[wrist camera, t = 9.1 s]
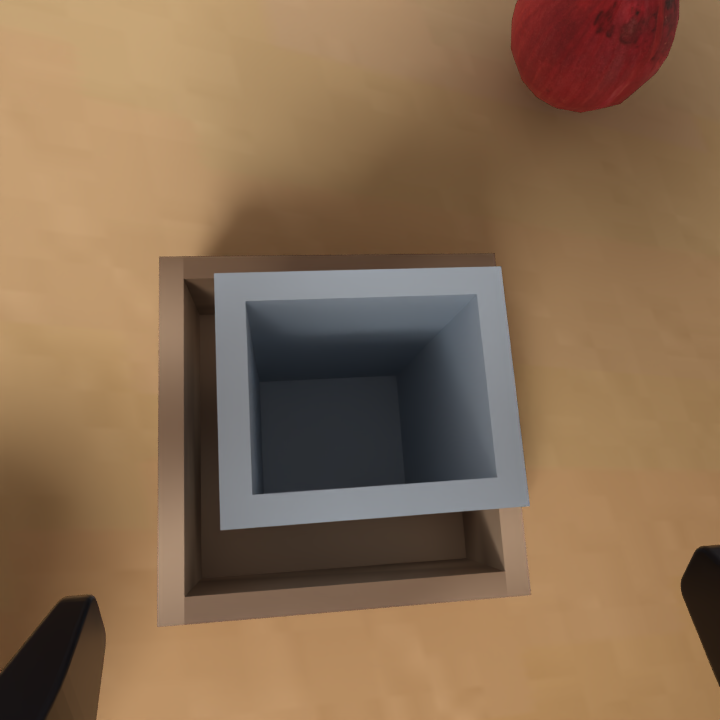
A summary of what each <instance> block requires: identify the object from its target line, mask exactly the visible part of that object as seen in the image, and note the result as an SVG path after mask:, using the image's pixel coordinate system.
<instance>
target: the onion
mask: <svg viewBox="0 0 720 720" xmlns="http://www.w3.org/2000/svg"><path fill="white" fill-rule="evenodd" d="M678 20H679V0H518V1H517V3H516V6H515V10H514V14H513V18H512V29H511V50H512V53H513V57H514V60H515V62H516V65H517V68H518V71H519V73H520V76H521V79H522V81H523V82H524V83H525V84H526V85H527V87H528V88H529V89H530V90H531V91H532V92H533V93H534V94H535V96H536V97H538V98H539V99H541V100H543V101H544V102H546V103H548V104H549V105H551V106H553V107H555V108H559V109H564V110H570V111H575V112H580V113H581V112H586V111H591V110H596V109H601V108H606V107H610V106H613V105H617V104H621V103H622V102H623V101H624V100H625V99H627V98H628V97H629V96H630V95H631V94H633V93H634V92H635V91H636V90H637V89H639V88H640V87H641V86H642V85H643V84H644V83H645V82H647V81H648V80H649V79H650V78H651V77H652V76H653V75H655V74H656V73H657V71H658V70H659V68H660V67H661V65H662V64H663V62H664V61H665V59H666V58H667V56H668V54H669V51H670V48H671V46H672V43H673V40H674V37H675V32H676V28H677V24H678Z"/></svg>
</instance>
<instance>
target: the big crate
mask: <svg viewBox="0 0 720 720" xmlns="http://www.w3.org/2000/svg"><path fill="white" fill-rule="evenodd" d="M456 267H496V262H495V253H493V254H390V255H286V256H183V257H159V409H158V592H157V627H164V626H175V625H187V624H199V623H210V622H222V621H234V620H246V619H257V618H269V617H281V616H292V615H304V614H316V613H327V612H339V611H351V610H363V609H374V608H386V607H398V606H409V605H421V604H433V603H444V602H456V601H468V600H479V599H491V598H503V597H515V596H526V595H531V589H530V580H529V570H528V561H527V552H526V542H525V533H524V524H523V514H522V507H512V508H499V509H487V510H474V511H461V512H448V513H435V514H423V515H410V516H397V517H384V518H371V519H359V520H346V521H333V522H320V523H308V524H295V525H282V526H269V527H256V528H244V529H231V530H220V492H219V453H218V413H217V373H216V333H215V294H214V273H247V272H289V271H331V270H372V269H414V268H456Z"/></svg>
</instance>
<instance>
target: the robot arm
mask: <svg viewBox="0 0 720 720" xmlns="http://www.w3.org/2000/svg"><path fill="white" fill-rule="evenodd" d="M681 592H682V596H683V598H684V601H685V603H686V606H687V608H688V611H689V613H690V616H691V618H692V621H693V623H694V626H695V628H696V630H697V633H698V635H699V638H700V640H701V643H702V645H703V648H704V650H705V653H706V655H707V658H708V660H709V663H710V665H711V667H712V670H713V672H714V675H715V677H716V679H717V682H718V684H719V686H720V545H710V546H701V547H699V548H697V549H696V551H695V552H694V554H693V556H692V558H691V560H690V562H689V564H688V566H687V568H686V570H685V573H684V575H683V577H682V579H681ZM105 644H106V635H105V628H104V625H103V621H102V618H101V614H100V611H99V607H98V604H97V601H96V598H95V597H94V596H93V595H77V596H67V597H64V598H62V599H61V600H59V601H58V602H57V604H56V605H55V606H54V607H53V609H52V610H51V611H50V612H49V614H48V615H47V616H46V617H45V618H44V620H43V621H42V622H41V623H40V625H39V626H38V627H37V628H36V630H35V631H34V632H33V633H32V635H31V636H30V637H29V638H28V639H27V641H26V642H25V643H24V644H23V646H22V647H21V648H20V649H19V651H18V652H17V653H16V654H15V656H14V657H13V658H12V659H11V660H10V662H9V663H8V664H7V665H6V667H5V668H4V669H3V670H2V672H1V673H0V720H96V716H97V708H98V701H99V693H100V685H101V677H102V669H103V661H104V653H105Z"/></svg>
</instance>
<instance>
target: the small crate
mask: <svg viewBox="0 0 720 720" xmlns="http://www.w3.org/2000/svg"><path fill="white" fill-rule="evenodd" d="M214 294H215V333H216V373H217V413H218V453H219V492H220V530H231V529H244V528H256V527H269V526H282V525H295V524H308V523H320V522H333V521H346V520H359V519H371V518H384V517H397V516H410V515H423V514H435V513H448V512H461V511H474V510H487V509H499V508H512V507H525V506H530V503H529V495H528V487H527V479H526V470H525V462H524V454H523V445H522V437H521V429H520V420H519V412H518V404H517V395H516V387H515V379H514V371H513V362H512V354H511V346H510V337H509V329H508V321H507V312H506V304H505V296H504V287H503V279H502V271H501V266H498V267H456V268H414V269H372V270H331V271H289V272H247V273H214Z"/></svg>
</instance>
